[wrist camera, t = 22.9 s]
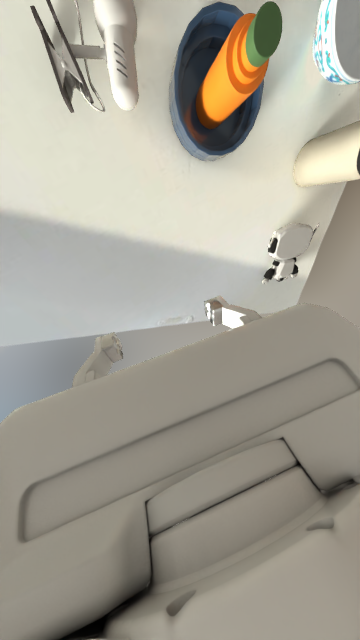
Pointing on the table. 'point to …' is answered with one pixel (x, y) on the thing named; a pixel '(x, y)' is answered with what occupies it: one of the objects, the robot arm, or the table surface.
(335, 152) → the travel mug
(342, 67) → the chinaware
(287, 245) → the robot toy
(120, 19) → the clip-on lamp
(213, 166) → the table surface
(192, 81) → the bowl
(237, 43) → the juice bottle
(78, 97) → the table surface
